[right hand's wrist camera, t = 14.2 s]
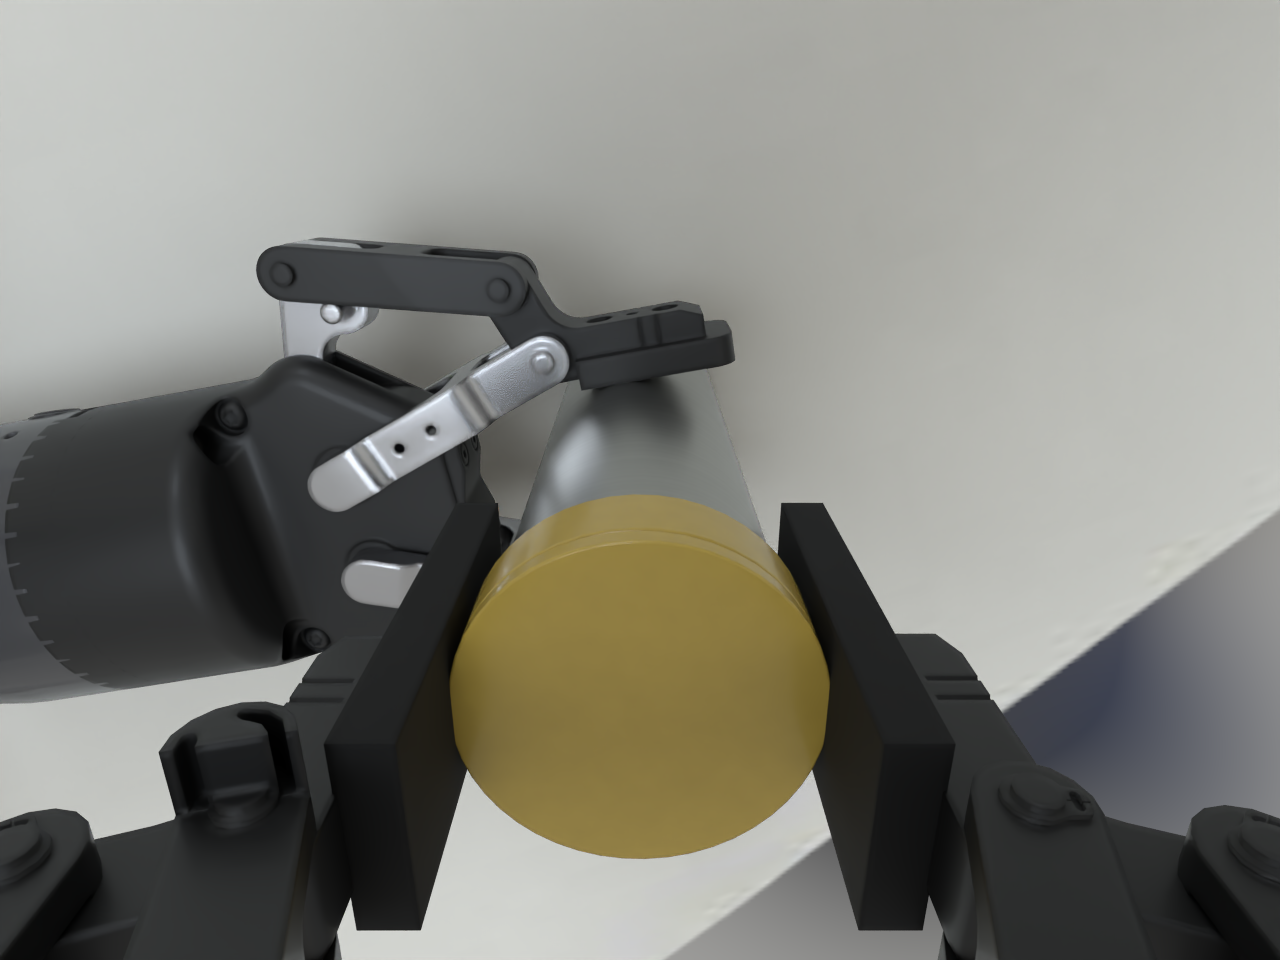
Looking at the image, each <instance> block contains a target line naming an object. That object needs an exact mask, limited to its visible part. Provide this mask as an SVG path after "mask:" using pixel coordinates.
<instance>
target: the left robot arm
mask: <svg viewBox="0 0 1280 960" xmlns="http://www.w3.org/2000/svg"><path fill="white" fill-rule="evenodd" d="M256 272H257V277H258V280H259V283H260V284H261V286H262V288H263V289H264V290H265V291H266V292H267V293H268V294H269V295H270V296H272V297H273V298H275V299H277V300H279V303H280V314H281V325H282V336H283V347H284V358H283V359H281V360H279V361H277V362H275V363H274V364H273V365H271V366H270V367H269V368H268V369H267V370H266V371H265V372H264V373H263V374H262V375H261V376H259V377H257V378H254V379H250V380H245V381H240V382H234V383H229V384H223V385H218V386H212V387H206V388H201V389H195V390H190V391H184V392H179V393H173V394H168V395H162V396H157V397H151V398H145V399H140V400H134V401H129V402H123V403H118V404H112V405H107V406H101V407H95V408H90V409H84V410H80V409H63V410H55V411H48V412H43V413H38V414H35V415H34V416H33V417H30V418H28V420H23V421H17V422H12V423H6V424H2V425H0V704H14V703H36V702H44V701H53V700H59V699H66V698H73V697H79V696H86V695H92V694H99V693H105V692H112V691H118V690H125V689H132V688H138V687H145V686H151V685H157V684H164V683H170V682H176V681H182V680H189V679H195V678H202V677H208V676H215V675H221V674H228V673H234V672H241V671H247V670H254V669H260V668H267V667H273V666H278V665H282V664H286V663H290V662H293V661H296V660H299V659H302V658H305V657H308V656H311V655H314V654H317V653H321V652H323V651H325V650H326V649H328V648H329V647H330V646H332V645H333V644H334V643H336V642H337V641H339V640H340V639H341V638H343V637H344V636H383V635H384V633H385V632H386V630H387V628H388V626H389V624H390V623H391V621H392V619H393V617H394V615H395V614H396V612H397V610H398V608H399V606H400V605H401V603H402V601H403V599H404V597H405V595H406V594H407V592H408V590H409V588H410V586H411V585H412V583H413V581H414V579H415V577H416V576H417V574H418V572H419V570H420V568H421V567H422V565H423V563H424V561H425V559H426V557H427V556H428V554H429V552H430V550H431V548H432V547H433V545H434V543H435V541H436V539H437V538H438V536H439V534H440V532H441V530H442V529H443V527H444V525H445V523H446V521H447V520H448V518H449V516H450V514H451V512H452V510H453V509H454V507H455V505H456V503H495V500H494V498H493V496H492V495H491V493H490V491H489V489H488V488H487V486H486V484H485V483H484V481H483V479H482V477H481V475H480V443H479V440H478V436H477V434H478V433H479V432H481V431H482V430H484V429H485V428H486V427H488V426H489V425H490V424H491V423H492V422H494V421H495V420H496V419H498V418H499V417H501V416H502V415H504V414H506V413H508V412H509V411H511V410H513V409H515V408H516V407H518V406H520V405H522V404H523V403H525V402H527V401H529V400H530V399H532V398H534V397H536V396H537V395H539V394H541V393H543V392H545V391H546V390H548V389H550V388H552V387H553V386H555V385H557V384H558V383H562V382H568V381H574V380H579V382H580V387H581V391H583V390H588V389H594V388H600V387H605V386H611V385H615V384H620V383H626V382H634V381H640V380H645V379H651V378H657V377H662V376H668V375H674V374H679V373H685V372H691V371H697V370H702V369H708V368H714V367H719V366H723V365H727V364H729V363H732V362H733V361H735V354H734V347H733V340H732V332H731V329H730V327H729V326H728V324H727V322H726V321H724V320H712V321H705V322H704V317H703V313H702V311H701V309H700V306H699V305H696V304H691V303H686V302H681V301H674V302H668V303H663V304H657V305H652V306H646V307H641V308H635V309H629V310H624V311H618V312H613V313H607V314H602V315H596V316H591V317H585V318H576V317H571V316H569V315H566V314H564V313H563V312H561V311H560V310H559V309H558V308H557V307H556V306H555V305H554V304H553V302H552V301H551V299H550V297H549V296H548V294H547V292H546V291H545V289H544V288H543V286H542V284H541V283H540V281H539V279H538V271H537V268H536V266H535V264H534V263H533V261H532V260H531V259H530V258H528V257H527V256H525V255H524V254H521V253H517V252H507V251H494V250H480V249H467V248H454V247H440V246H427V245H413V244H400V243H386V242H373V241H360V240H346V239H333V238H315V239H310V240H303V241H298V242H293V243H288V244H284V245H280V246H275V247H271V248H269V249H267V250H265V251H264V252H263V253H262V254H261V256H260V257H259V259H258V262H257V267H256ZM379 308H382V309H396V310H410V311H424V312H437V313H451V314H465V315H479V316H490V318H491V320H492V321H493V323H494V324H495V326H496V327H497V329H498V330H499V332H500V333H501V335H502V337H503V338H504V340H505V341H506V343H504V344H502V345H501V346H499V347H497V348H495V349H494V350H492V351H490V352H488V353H486V354H483V355H481V356H479V357H477V358H475V359H473V360H472V361H470V362H468V363H466V364H465V365H463V366H461V367H460V368H458V369H456V370H455V371H453V372H451V373H449V374H448V375H446V376H444V377H443V378H441V379H439V380H438V381H436V382H434V383H432V384H431V385H429V386H427V387H426V388H424V389H421V388H419V387H417V386H415V385H413V384H410V383H408V382H406V381H404V380H401V379H399V378H397V377H395V376H393V375H390V374H388V373H386V372H384V371H381V370H379V369H377V368H375V367H373V366H370V365H368V364H366V363H364V362H361V361H359V360H357V359H355V358H353V357H350V356H348V355H346V354H344V353H341V352H339V351H337V350H336V342H337V340H338V338H339V336H340V335H341V334H350V333H353V332H356V331H358V330H359V329H361V328H363V327H365V326H367V325H368V324H370V323H371V322H373V321H374V320H375V318H376V317H377V315H378V312H379ZM520 522H521V520H519V519H512V518H506V517H499V526H500V540H501V554H503V553H504V552H505V551H506V550H507V548H508V547H509V546H510V545H511V544H513V543H514V540H515V537H516V534H517V531H518V528H519V525H520Z"/></svg>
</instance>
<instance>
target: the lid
mask: <svg viewBox="0 0 1280 960" xmlns="http://www.w3.org/2000/svg"><path fill="white" fill-rule="evenodd" d="M449 685H450V696H451V706H452V716H453V725H454V735H455V742H456V746H457V749H458V751H459V754H460V756H461V759H462V761H463V762H464V764H465V766H466V768H467V769H468V771H469V773H470V775H471V776H472V778H473V779H474V780H475V782H476V783H477V784H478V786H479V787H480V788H481V789H482V791H483V792H484V793H485V794H486V795H487V796H488V797H489V798H490V799H491V800H492V801H493V802H494V803H495V804H496V805H497V806H498V807H499V808H500V809H501V810H502V811H503V812H505V813H506V814H507V815H508V816H510V817H511V818H512V819H514V820H515V821H516V822H518V823H519V824H521V825H522V826H524V827H526V828H527V829H529V830H531V831H532V832H534V833H536V834H538V835H540V836H542V837H544V838H546V839H549V840H551V841H553V842H555V843H557V844H560V845H563V846H566V847H569V848H572V849H575V850H578V851H583V852H587V853H591V854H596V855H600V856H608V857H616V858H631V859H650V858H663V857H672V856H678V855H683V854H689V853H693V852H697V851H700V850H704V849H707V848H711V847H714V846H716V845H719V844H721V843H724V842H726V841H729V840H731V839H734V838H736V837H737V836H739V835H741V834H743V833H745V832H747V831H749V830H751V829H752V828H754V827H755V826H757V825H758V824H760V823H761V822H763V821H764V820H766V819H767V818H769V817H770V816H771V815H772V814H774V813H775V812H776V811H777V810H778V809H779V808H780V807H782V806H783V805H784V804H785V803H786V802H787V801H788V800H789V799H790V798H791V797H792V796H793V794H794V793H795V792H796V791H797V790H798V789H799V788H800V786H801V785H802V784H803V782H804V781H805V779H806V778H807V776H808V775H809V773H810V772H811V770H812V769H813V767H814V765H815V763H816V761H817V759H818V756H819V754H820V752H821V750H822V748H823V744H824V737H825V728H826V718H827V709H828V699H829V689H830V677H829V671H828V665H827V662H826V659H825V657H824V654H823V651H822V648H821V645H820V642H819V640H818V637H817V634H816V632H815V629H814V627H813V624H812V621H811V619H810V616H809V614H808V611H807V608H806V606H805V603H804V600H803V598H802V595H801V593H800V590H799V588H798V586H797V584H796V582H795V580H794V578H793V577H792V575H791V573H790V571H789V570H788V568H787V567H786V565H785V564H784V563H783V561H782V560H781V559H780V557H779V556H778V555H777V553H776V552H775V551H774V550H773V549H772V548H771V547H770V546H769V545H768V544H767V543H766V542H765V541H764V540H763V539H762V538H760V537H759V536H758V535H757V534H755V533H754V532H753V531H751V530H750V529H749V528H748V527H746V526H745V525H743V524H742V523H740V522H738V521H736V520H735V519H733V518H731V517H730V516H728V515H726V514H724V513H722V512H719V511H717V510H715V509H712V508H710V507H707V506H705V505H702V504H698V503H695V502H691V501H688V500H684V499H680V498H674V497H667V496H661V495H639V494H632V495H621V496H610V497H605V498H601V499H596V500H591V501H587V502H584V503H581V504H578V505H575V506H572V507H569V508H567V509H564V510H562V511H560V512H558V513H556V514H554V515H552V516H550V517H548V518H546V519H544V520H542V521H541V522H539V523H538V524H537V525H535V526H534V527H532V528H531V529H529V530H528V531H526V532H525V533H524V534H523V535H521V536H520V537H519V538H518V539H517V540H516V541H515V542H514V543H513V544H511V545H510V546H509V547H508V548H507V550H506V551H505V552H504V553H503V554H502V556H501V557H500V558H499V559H498V560H497V561H496V563H495V564H494V566H493V567H492V569H491V571H490V572H489V574H488V575H487V577H486V579H485V580H484V582H483V585H482V587H481V589H480V592H479V594H478V596H477V599H476V601H475V604H474V607H473V609H472V612H471V614H470V617H469V620H468V622H467V625H466V627H465V630H464V633H463V635H462V638H461V641H460V643H459V646H458V648H457V651H456V653H455V656H454V660H453V664H452V668H451V672H450V676H449Z"/></svg>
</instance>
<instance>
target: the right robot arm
mask: <svg viewBox="0 0 1280 960" xmlns="http://www.w3.org/2000/svg"><path fill="white" fill-rule="evenodd" d="M501 556H502V554H501V540H500V526H499V511H498V503H456V505H455V507H454V509H453V510H452V512H451V514H450V516H449V518H448V520H447V521H446V523H445V525H444V527H443V529H442V530H441V532H440V534H439V536H438V538H437V539H436V541H435V543H434V545H433V547H432V548H431V550H430V552H429V554H428V556H427V557H426V559H425V561H424V563H423V565H422V567H421V568H420V570H419V572H418V574H417V576H416V577H415V579H414V581H413V583H412V585H411V586H410V588H409V590H408V592H407V594H406V595H405V597H404V599H403V601H402V603H401V605H400V606H399V608H398V610H397V612H396V614H395V615H394V617H393V619H392V621H391V623H390V624H389V626H388V628H387V630H386V632H385V633H384V635H383V636H344V637H343V638H341V639H340V640H339V641H337V642H336V643H334V644H333V645H332V646H330V647H329V648H328V649H326V650H325V651H323V652H322V653H321V654H319V655H318V656H317V657H316V659H315V660H314V662H313V663H312V665H311V666H310V668H309V669H308V671H307V672H306V674H305V675H304V677H303V678H302V683H299V684H298V686H297V687H296V689H295V690H294V692H293V693H292V695H291V696H290V701H289V703H286V704H285V705H284V706H281V705H277V704H273V703H269V702H243V703H238V704H234V705H230V706H226V707H222V708H218V709H215V710H213V711H211V712H208V713H206V714H204V715H202V716H200V717H197V718H195V719H193V720H191V721H190V722H188V723H187V724H186V725H184V726H183V727H182V728H180V729H179V730H178V731H176V732H175V733H174V734H172V735H171V736H170V737H169V739H168V740H167V741H166V743H165V744H164V746H163V747H162V748H161V750H160V751H159V756H160V759H161V763H162V766H163V770H164V774H165V777H166V781H167V785H168V788H169V792H170V796H171V799H172V803H173V807H174V810H175V814H176V816H175V819H174V820H171V821H168V822H165V823H161V824H158V825H155V826H151V827H147V828H142V829H138V830H134V831H130V832H125V833H121V834H117V835H112V836H108V837H104V838H99V839H95V840H94V838H93V835H92V832H91V829H90V825H89V822H88V821H87V820H86V819H85V818H83V817H82V816H81V815H80V814H78V813H77V812H75V811H68V810H62V809H49V810H42V811H35V812H28V813H25V814H22V815H19V816H17V817H14V818H11V819H8V820H5V821H2V822H0V960H342V958H341V952H340V945H339V940H338V935H337V930H338V928H339V925H340V923H341V920H342V918H343V915H344V913H345V910H346V908H347V905H348V903H349V900H350V898H351V901H352V907H353V912H354V918H355V923H356V929H357V930H421V927H422V924H423V921H424V917H425V914H426V910H427V907H428V903H429V900H430V896H431V893H432V889H433V886H434V882H435V879H436V875H437V872H438V869H439V865H440V862H441V858H442V855H443V851H444V848H445V844H446V841H447V837H448V834H449V830H450V827H451V823H452V820H453V817H454V813H455V810H456V806H457V803H458V799H459V796H460V792H461V789H462V785H463V782H464V778H465V775H466V771H467V768H466V766H465V764H464V762H463V761H462V759H461V756H460V754H459V751H458V749H457V746H456V742H455V735H454V725H453V716H452V706H451V696H450V685H449V676H450V672H451V668H452V664H453V660H454V656H455V653H456V651H457V648H458V646H459V643H460V641H461V638H462V635H463V633H464V630H465V627H466V625H467V622H468V620H469V617H470V614H471V612H472V609H473V607H474V604H475V601H476V599H477V596H478V594H479V592H480V589H481V587H482V585H483V582H484V580H485V579H486V577H487V575H488V574H489V572H490V571H491V569H492V567H493V566H494V564H495V563H496V561H497V560H498V559H499V558H500V557H501ZM778 556H779V557H780V559H781V560H782V561H783V563H784V564H785V565H786V567H787V568H788V570H789V571H790V573H791V575H792V577H793V578H794V580H795V582H796V584H797V586H798V588H799V590H800V593H801V595H802V598H803V600H804V603H805V606H806V608H807V611H808V614H809V616H810V619H811V621H812V624H813V627H814V629H815V632H816V634H817V637H818V640H819V642H820V645H821V648H822V651H823V654H824V657H825V659H826V662H827V665H828V671H829V677H830V689H829V699H828V709H827V718H826V728H825V737H824V744H823V748H822V750H821V752H820V754H819V756H818V759H817V761H816V763H815V765H814V767H813V769H812V770H813V774H814V777H815V781H816V784H817V788H818V791H819V795H820V798H821V801H822V805H823V808H824V812H825V815H826V819H827V822H828V826H829V829H830V833H831V836H832V840H833V843H834V847H835V850H836V854H837V857H838V860H839V864H840V867H841V871H842V874H843V878H844V881H845V885H846V888H847V892H848V895H849V899H850V902H851V905H852V909H853V912H854V916H855V919H856V923H857V926H858V930H923V925H924V919H925V914H926V908H927V903H928V897H929V896H930V898H931V901H932V903H933V906H934V908H935V911H936V913H937V916H938V918H939V921H940V923H941V926H942V928H943V935H942V940H941V945H940V951H939V956H938V960H1280V819H1279V818H1276V817H1273V816H1271V815H1268V814H1265V813H1262V812H1259V811H1256V810H1253V809H1248V808H1241V807H1234V806H1227V805H1223V806H1216V807H1210V808H1204V809H1203V810H1201V811H1200V812H1199V813H1198V814H1196V815H1195V816H1194V817H1193V818H1192V820H1191V823H1190V826H1189V829H1188V832H1187V835H1186V836H1181V835H1177V834H1173V833H1168V832H1164V831H1160V830H1156V829H1151V828H1147V827H1143V826H1138V825H1134V824H1129V823H1126V822H1122V821H1119V820H1116V819H1112V818H1109V817H1106V816H1105V815H1104V813H1103V812H1102V810H1101V808H1100V807H1099V805H1098V804H1097V802H1096V801H1095V799H1094V797H1093V796H1092V795H1090V794H1089V793H1088V792H1087V791H1086V790H1085V789H1083V788H1082V787H1081V786H1080V785H1079V784H1077V783H1076V782H1075V781H1074V780H1072V779H1070V778H1068V777H1066V776H1064V775H1062V774H1060V773H1058V772H1056V771H1055V770H1053V769H1051V768H1047V767H1044V766H1040V765H1037V764H1036V763H1035V761H1034V760H1033V758H1032V757H1031V755H1030V754H1029V752H1028V751H1027V749H1026V748H1025V746H1024V745H1023V743H1022V742H1021V740H1020V739H1019V737H1018V736H1017V734H1016V733H1015V731H1014V730H1013V728H1012V727H1011V725H1010V724H1009V723H1008V721H1007V720H1006V718H1005V717H1004V715H1003V714H1002V712H1001V711H1000V709H999V708H998V706H997V705H996V703H995V702H994V700H991V699H990V694H989V693H988V691H987V690H986V688H985V687H984V685H983V684H982V682H981V681H978V679H977V675H976V673H975V672H974V670H973V669H972V667H971V666H970V664H969V663H968V661H967V660H966V658H965V657H964V655H963V654H962V653H961V652H960V651H958V650H957V649H955V648H954V647H953V646H951V645H950V644H949V643H947V642H946V641H944V640H943V639H942V638H940V637H939V636H938V635H936V634H895V633H894V631H893V629H892V628H891V626H890V624H889V622H888V620H887V618H886V617H885V615H884V613H883V611H882V609H881V608H880V606H879V604H878V602H877V600H876V599H875V597H874V595H873V593H872V591H871V590H870V588H869V586H868V584H867V582H866V580H865V579H864V577H863V575H862V573H861V571H860V570H859V568H858V566H857V564H856V562H855V561H854V559H853V557H852V555H851V553H850V552H849V550H848V548H847V546H846V544H845V542H844V541H843V539H842V537H841V535H840V533H839V532H838V530H837V528H836V526H835V524H834V523H833V521H832V519H831V517H830V515H829V514H828V512H827V510H826V508H825V506H824V504H823V503H781V516H780V530H779V544H778Z"/></svg>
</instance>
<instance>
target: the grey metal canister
mask: <svg viewBox="0 0 1280 960" xmlns="http://www.w3.org/2000/svg"><path fill="white" fill-rule="evenodd" d="M632 494H639V495H661V496H667V497H674V498H680V499H684V500H688V501H691V502H695V503H698V504H702V505H705V506H707V507H710V508H712V509H715V510H717V511H719V512H722V513H724V514H726V515H728V516H730V517H731V518H733V519H735V520H736V521H738V522H740V523H742V524H743V525H745V526H746V527H748V528H749V529H750V530H751V531H753V532H754V533H755V534H757V535H758V536H759V537H760V538H762V539H763V540H764V541H765V538H764V535H763V532H762V529H761V526H760V523H759V520H758V517H757V514H756V512H755V509H754V506H753V503H752V500H751V497H750V494H749V491H748V488H747V485H746V482H745V479H744V476H743V473H742V471H741V468H740V465H739V462H738V459H737V456H736V453H735V450H734V447H733V444H732V441H731V438H730V435H729V432H728V430H727V427H726V424H725V421H724V418H723V415H722V412H721V409H720V406H719V403H718V400H717V397H716V394H715V391H714V388H713V386H712V383H711V380H710V377H709V374H708V371H707V369H702V370H697V371H691V372H685V373H679V374H674V375H668V376H662V377H657V378H651V379H645V380H640V381H634V382H626V383H620V384H615V385H611V386H605V387H600V388H594V389H588V390H583V391H581V387H580V382H579V380H574V381H569V382H568V385H567V388H566V391H565V394H564V397H563V400H562V402H561V405H560V408H559V411H558V414H557V417H556V420H555V423H554V426H553V429H552V432H551V435H550V438H549V441H548V443H547V446H546V449H545V452H544V455H543V458H542V461H541V464H540V467H539V470H538V473H537V476H536V479H535V481H534V484H533V487H532V490H531V493H530V496H529V499H528V502H527V505H526V508H525V511H524V514H523V517H522V519H521V522H520V525H519V528H518V531H517V534H516V537H515V540H514V542H515V541H516V540H517V539H518V538H519V537H520V536H521V535H523V534H524V533H525V532H526V531H528V530H529V529H531V528H532V527H534V526H535V525H537V524H538V523H539V522H541V521H542V520H544V519H546V518H548V517H550V516H552V515H554V514H556V513H558V512H560V511H562V510H564V509H567V508H569V507H572V506H575V505H578V504H581V503H584V502H587V501H591V500H596V499H601V498H605V497H610V496H621V495H632ZM765 542H766V541H765Z"/></svg>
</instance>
